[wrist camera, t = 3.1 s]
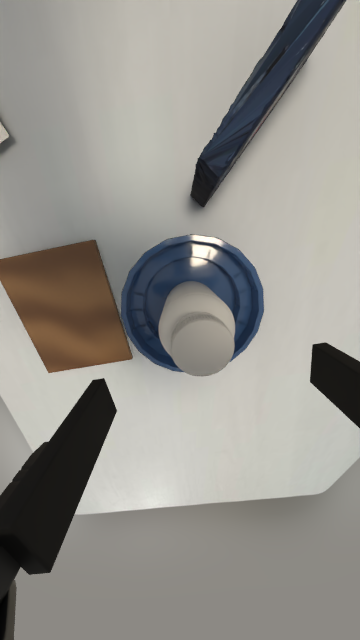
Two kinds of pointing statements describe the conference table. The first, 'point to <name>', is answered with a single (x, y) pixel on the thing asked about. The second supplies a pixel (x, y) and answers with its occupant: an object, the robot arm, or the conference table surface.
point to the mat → (66, 306)
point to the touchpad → (3, 133)
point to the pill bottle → (197, 329)
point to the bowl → (181, 266)
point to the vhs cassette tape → (262, 92)
